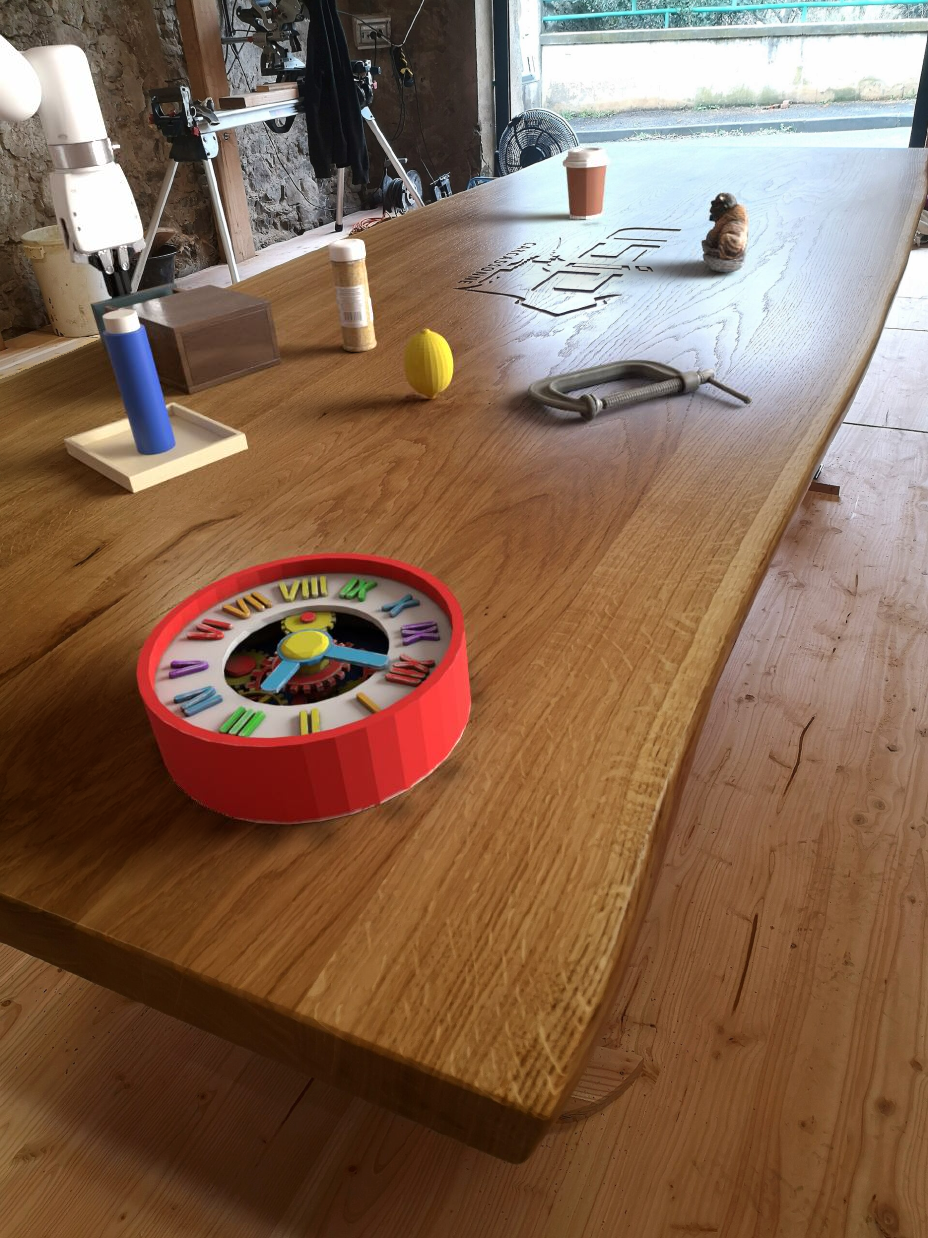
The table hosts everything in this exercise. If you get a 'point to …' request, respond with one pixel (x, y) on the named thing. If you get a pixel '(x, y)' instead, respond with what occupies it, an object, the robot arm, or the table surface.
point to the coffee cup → (586, 181)
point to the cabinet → (208, 336)
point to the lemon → (428, 363)
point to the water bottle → (138, 382)
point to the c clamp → (589, 405)
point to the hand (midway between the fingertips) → (122, 299)
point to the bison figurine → (726, 235)
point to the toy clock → (307, 686)
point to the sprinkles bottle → (352, 294)
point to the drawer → (128, 303)
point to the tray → (135, 471)
